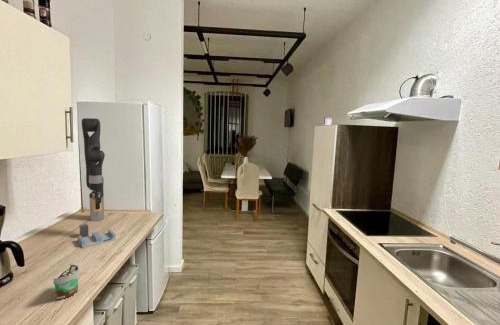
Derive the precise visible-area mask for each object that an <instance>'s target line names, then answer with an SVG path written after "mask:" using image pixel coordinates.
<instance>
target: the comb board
mask: <svg viewBox="0 0 500 325" xmlns="http://www.w3.org/2000/svg"><path fill="white" fill-rule="evenodd" d="M91 233H92V234H91V235H90V236H88V237H83V238H82V236H81V235H80V234H79V235H78V236H77V242H78V243H79V245H80V246H81V247H82V249H84V248H89V247H93V246H97V245H101V244H105V243H110V242H114V241H116V240H117V238H116V233H115V232H114V231H113V230H112V229H111V228H110V229H107V232H104V233H99V232H98V231H95V232H91Z"/></svg>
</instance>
